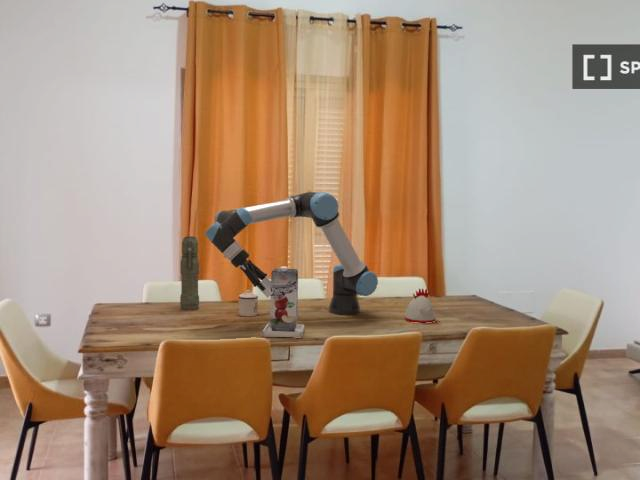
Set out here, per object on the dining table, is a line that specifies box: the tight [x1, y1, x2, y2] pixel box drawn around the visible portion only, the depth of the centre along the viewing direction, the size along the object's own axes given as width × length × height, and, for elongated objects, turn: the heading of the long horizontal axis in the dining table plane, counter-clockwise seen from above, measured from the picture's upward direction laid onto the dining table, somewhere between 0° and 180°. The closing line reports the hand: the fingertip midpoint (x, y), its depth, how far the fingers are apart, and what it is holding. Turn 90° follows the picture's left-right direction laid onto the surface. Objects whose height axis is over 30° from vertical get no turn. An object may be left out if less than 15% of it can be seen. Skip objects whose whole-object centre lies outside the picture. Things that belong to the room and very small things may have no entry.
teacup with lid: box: [238, 289, 259, 318], centre depth 289 cm, size 12×9×12 cm
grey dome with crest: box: [404, 288, 437, 323], centre depth 282 cm, size 14×14×15 cm
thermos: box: [179, 236, 200, 311], centre depth 297 cm, size 9×12×35 cm
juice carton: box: [269, 265, 299, 332], centre depth 251 cm, size 9×10×27 cm
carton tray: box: [262, 322, 305, 338], centre depth 252 cm, size 16×15×2 cm
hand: (272, 292), depth 251 cm, fingers open, 13 cm apart
